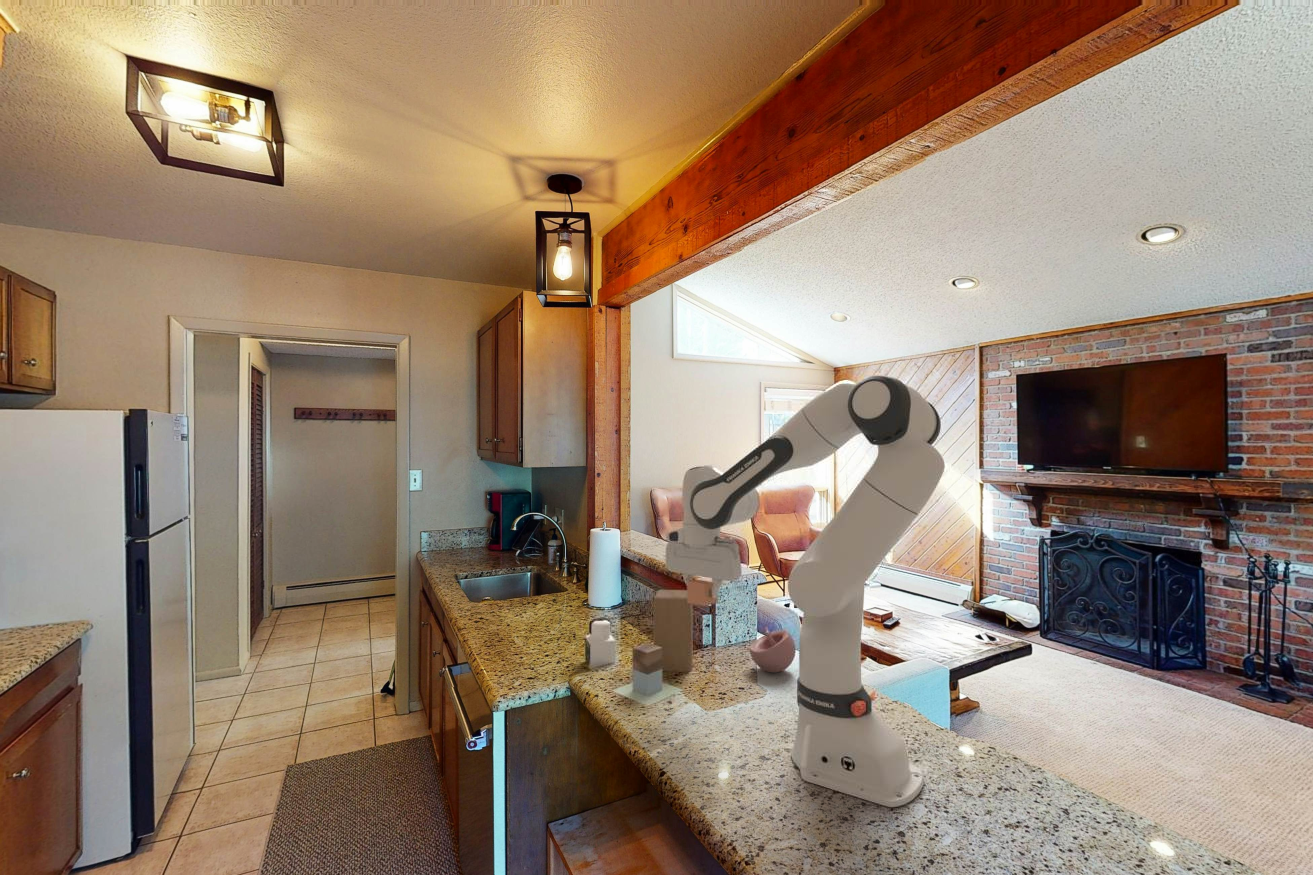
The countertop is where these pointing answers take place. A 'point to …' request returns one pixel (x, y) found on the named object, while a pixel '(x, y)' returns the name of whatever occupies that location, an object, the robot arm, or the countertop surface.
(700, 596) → the brick
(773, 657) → the mortar and pestle
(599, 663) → the medicine bottle
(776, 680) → the countertop surface
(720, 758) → the countertop surface
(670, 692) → the plate
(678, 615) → the block
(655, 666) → the brick
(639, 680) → the brick
